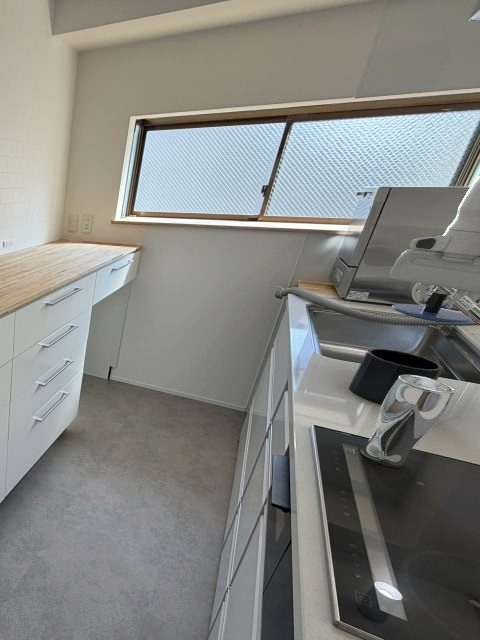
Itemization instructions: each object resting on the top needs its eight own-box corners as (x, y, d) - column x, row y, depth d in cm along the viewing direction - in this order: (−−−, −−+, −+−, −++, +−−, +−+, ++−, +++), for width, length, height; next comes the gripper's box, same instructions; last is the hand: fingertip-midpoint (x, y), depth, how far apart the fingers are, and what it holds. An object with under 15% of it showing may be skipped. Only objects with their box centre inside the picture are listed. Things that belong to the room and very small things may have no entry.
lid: (478, 322, 96) (493, 298, 94) (455, 328, 91) (470, 303, 88) (404, 306, 107) (415, 284, 104) (379, 311, 101) (391, 288, 99)
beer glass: (416, 465, 72) (466, 389, 65) (394, 473, 70) (443, 395, 63) (369, 443, 78) (411, 371, 71) (347, 450, 75) (388, 376, 69)
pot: (429, 403, 94) (453, 365, 90) (405, 413, 89) (428, 374, 85) (364, 380, 104) (382, 345, 100) (338, 389, 99) (356, 352, 94)
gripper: (545, 252, 84) (502, 317, 91) (415, 238, 101) (386, 294, 107) (535, 253, 82) (492, 320, 88) (403, 239, 98) (375, 296, 104)
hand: (433, 305), depth 98 cm, fingers closed on lid, 2 cm apart
